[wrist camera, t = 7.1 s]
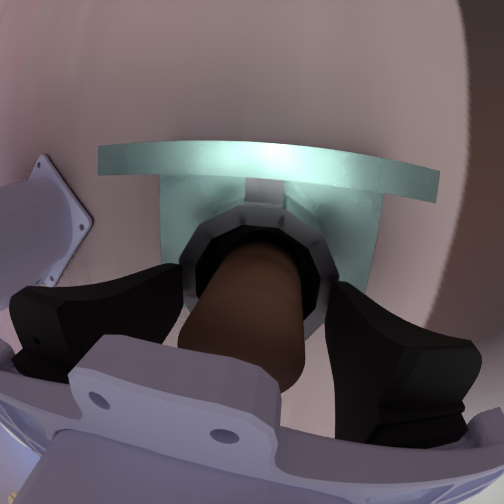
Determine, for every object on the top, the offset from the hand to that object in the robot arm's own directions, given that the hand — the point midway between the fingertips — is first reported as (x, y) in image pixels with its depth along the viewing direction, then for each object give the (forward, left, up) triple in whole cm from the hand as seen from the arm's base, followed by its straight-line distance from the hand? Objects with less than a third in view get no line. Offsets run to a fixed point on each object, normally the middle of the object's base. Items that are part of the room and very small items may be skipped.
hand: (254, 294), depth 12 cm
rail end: (0, 0, -4) cm, 4 cm away
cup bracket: (0, 0, -6) cm, 6 cm away
